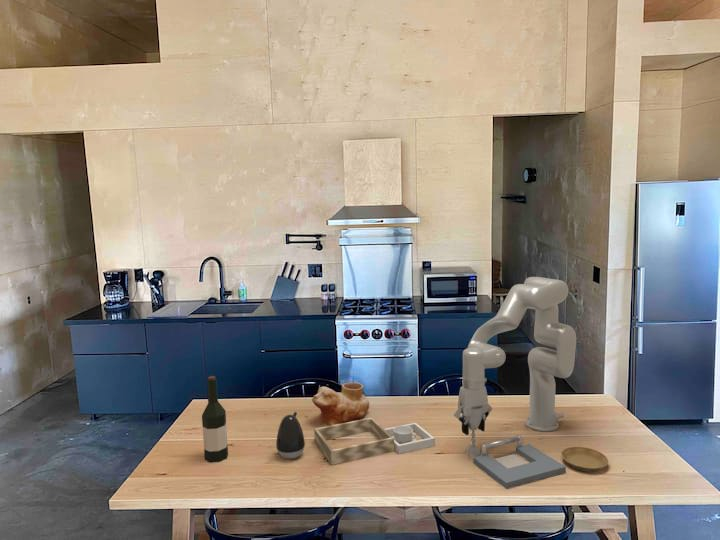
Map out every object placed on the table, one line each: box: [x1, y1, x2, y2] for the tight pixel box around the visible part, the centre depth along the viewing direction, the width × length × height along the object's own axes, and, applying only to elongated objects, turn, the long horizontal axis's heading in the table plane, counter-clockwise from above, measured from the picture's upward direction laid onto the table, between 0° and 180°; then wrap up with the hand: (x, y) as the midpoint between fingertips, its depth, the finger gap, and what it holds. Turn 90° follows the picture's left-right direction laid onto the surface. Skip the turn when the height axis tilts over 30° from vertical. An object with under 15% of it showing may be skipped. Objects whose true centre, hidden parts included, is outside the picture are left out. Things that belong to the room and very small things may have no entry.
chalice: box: [465, 408, 482, 457], centre depth 188 cm, size 7×7×18 cm
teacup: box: [392, 425, 417, 444], centre depth 200 cm, size 10×10×5 cm
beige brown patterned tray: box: [313, 417, 395, 466], centre depth 196 cm, size 24×20×5 cm
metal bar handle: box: [481, 434, 523, 456], centre depth 186 cm, size 17×2×6 cm, turn 112°
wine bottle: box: [201, 375, 229, 464], centre depth 188 cm, size 8×8×30 cm
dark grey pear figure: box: [275, 411, 306, 460], centre depth 190 cm, size 10×10×15 cm
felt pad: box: [494, 453, 528, 468], centre depth 182 cm, size 9×9×1 cm
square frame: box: [384, 422, 436, 455], centre depth 199 cm, size 15×15×3 cm
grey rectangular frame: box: [472, 443, 567, 490], centre depth 178 cm, size 24×18×2 cm
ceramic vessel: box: [311, 382, 370, 426], centre depth 221 cm, size 14×26×15 cm, turn 123°
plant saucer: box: [561, 446, 609, 473], centre depth 180 cm, size 15×15×3 cm
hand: (473, 431), depth 188 cm, fingers closed on chalice, 6 cm apart
